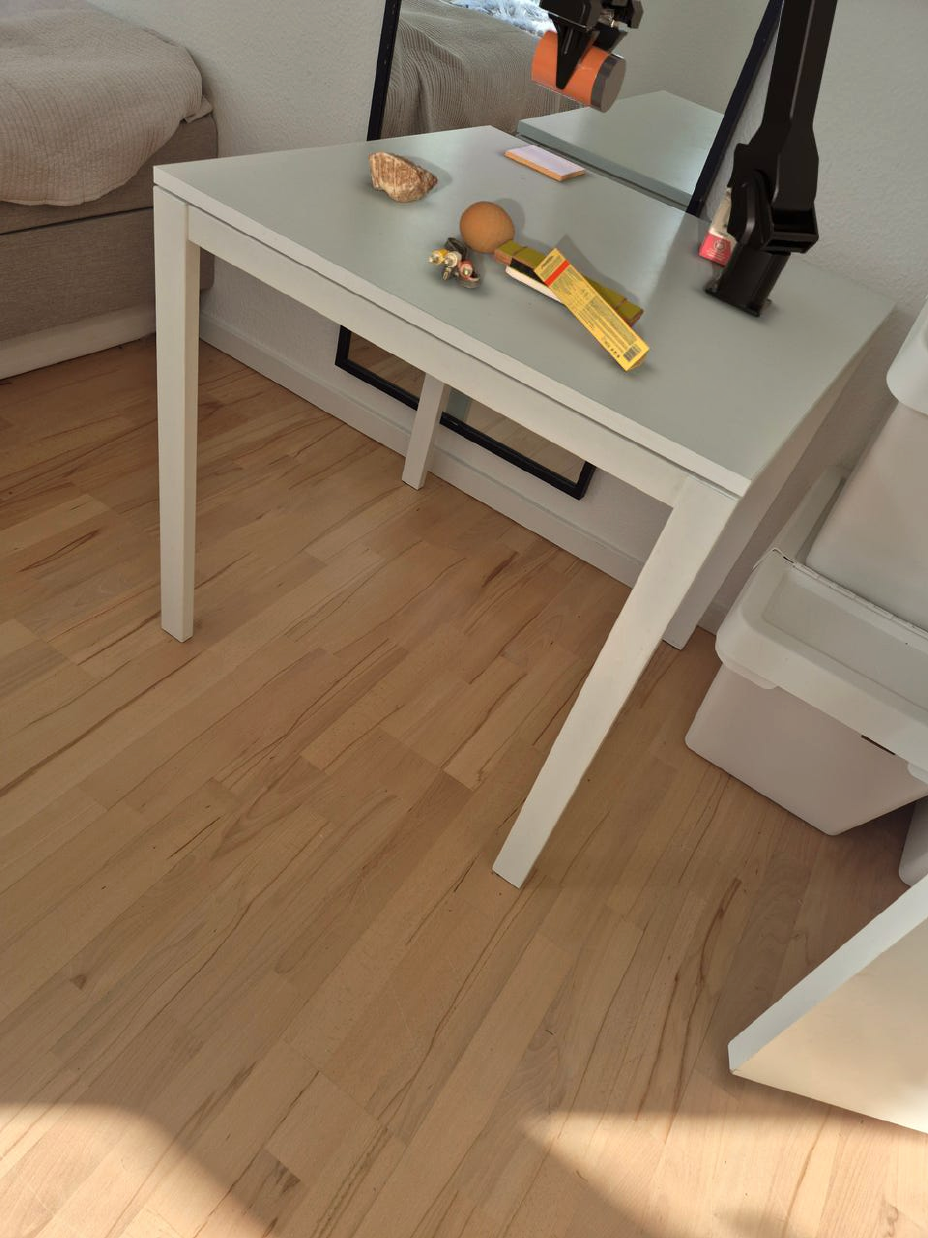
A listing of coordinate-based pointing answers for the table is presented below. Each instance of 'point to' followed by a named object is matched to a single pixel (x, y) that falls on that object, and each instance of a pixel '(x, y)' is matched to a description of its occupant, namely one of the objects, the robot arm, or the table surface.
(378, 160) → the stone
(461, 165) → the table surface
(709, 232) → the ink box
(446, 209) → the table surface
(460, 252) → the composite cable
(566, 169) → the coaster
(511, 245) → the olive brown bar
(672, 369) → the table surface
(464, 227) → the egg
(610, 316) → the chocolate bar
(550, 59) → the jar
